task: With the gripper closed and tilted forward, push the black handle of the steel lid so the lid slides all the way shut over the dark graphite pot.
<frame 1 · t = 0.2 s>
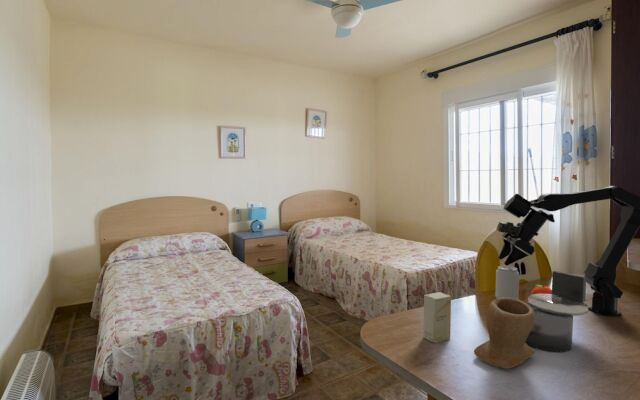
hand: (502, 261, 124), 15 cm above the table, tool tilted 35°, fingers open, 9 cm apart
pot: (542, 340, 96), on the table
lid: (557, 291, 99), point 12 cm above the table, slide at 7.0 cm
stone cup: (507, 360, 86), on the table
can: (506, 300, 128), on the table
clementine: (540, 305, 123), on the table
elephant figurine: (566, 294, 134), on the table
skincare box: (436, 338, 97), on the table
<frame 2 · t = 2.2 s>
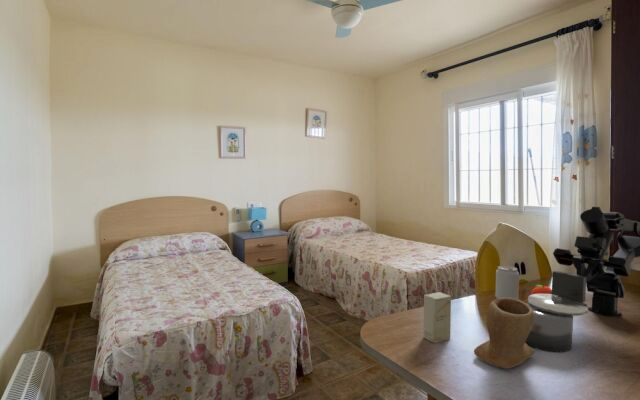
hand: (579, 283, 106), 13 cm above the table, tool tilted 45°, fingers closed
nothing on the table moved.
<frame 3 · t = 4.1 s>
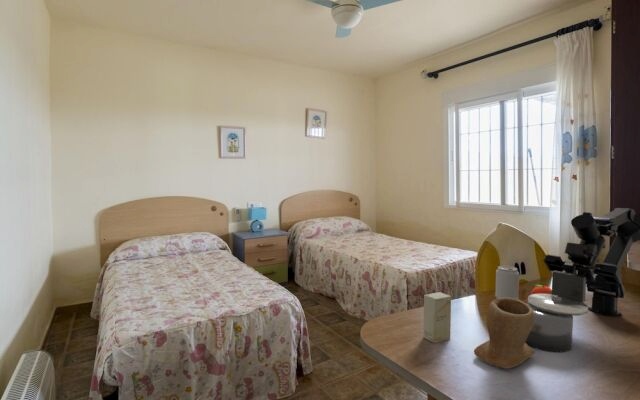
hand: (570, 291, 102), 11 cm above the table, tool tilted 45°, fingers closed, pressing on lid
lid: (557, 291, 99), point 12 cm above the table, slide at 7.0 cm, touching gripper
everything else where it was.
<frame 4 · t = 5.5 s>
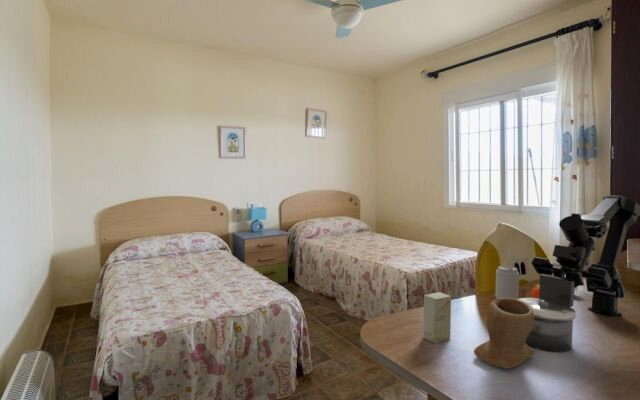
hand: (557, 295, 99), 11 cm above the table, tool tilted 45°, fingers closed, pressing on lid
lid: (544, 296, 95), point 12 cm above the table, slide at -0.1 cm, touching gripper
everything else where it was.
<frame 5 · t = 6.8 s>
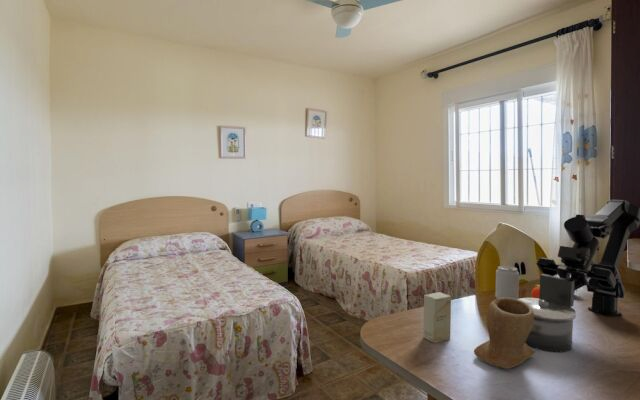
hand: (563, 295, 100), 11 cm above the table, tool tilted 45°, fingers closed
lid: (544, 295, 95), point 12 cm above the table, slide at 0.0 cm
everything else where it was.
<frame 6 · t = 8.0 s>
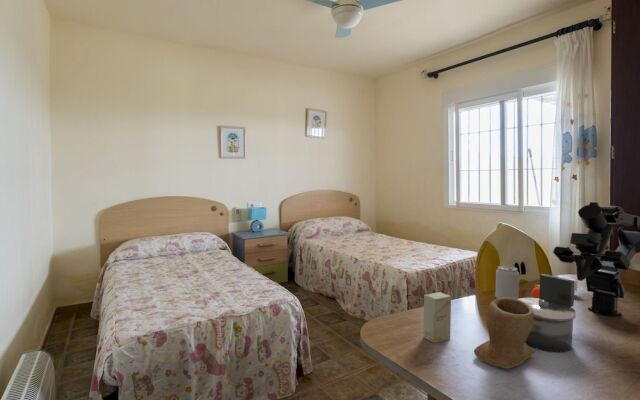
hand: (579, 279, 106), 14 cm above the table, tool tilted 40°, fingers closed
nothing on the table moved.
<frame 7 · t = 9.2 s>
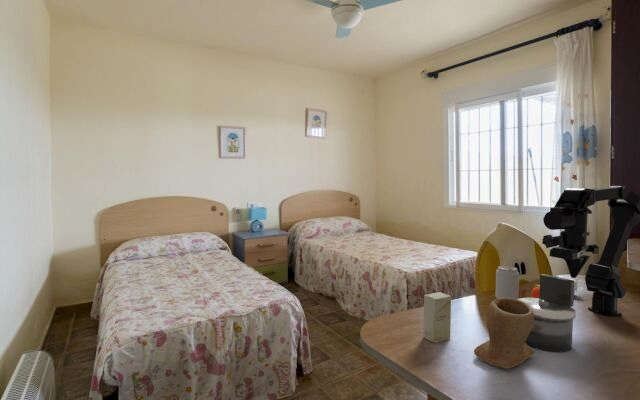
hand: (573, 277, 110), 13 cm above the table, tool pointing down, fingers closed
nothing on the table moved.
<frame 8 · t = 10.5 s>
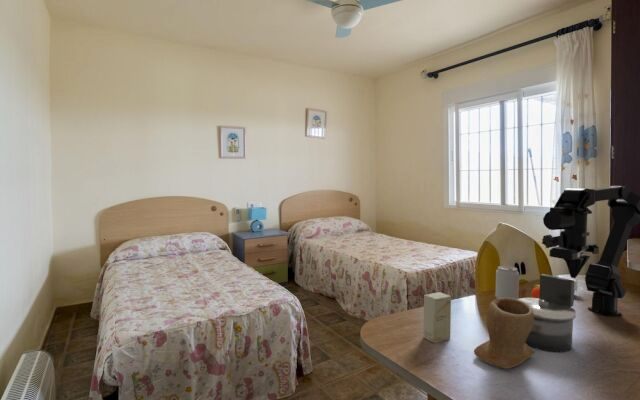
hand: (573, 277, 110), 13 cm above the table, tool pointing down, fingers closed
nothing on the table moved.
at the end: lid slide at 0.0 cm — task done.
